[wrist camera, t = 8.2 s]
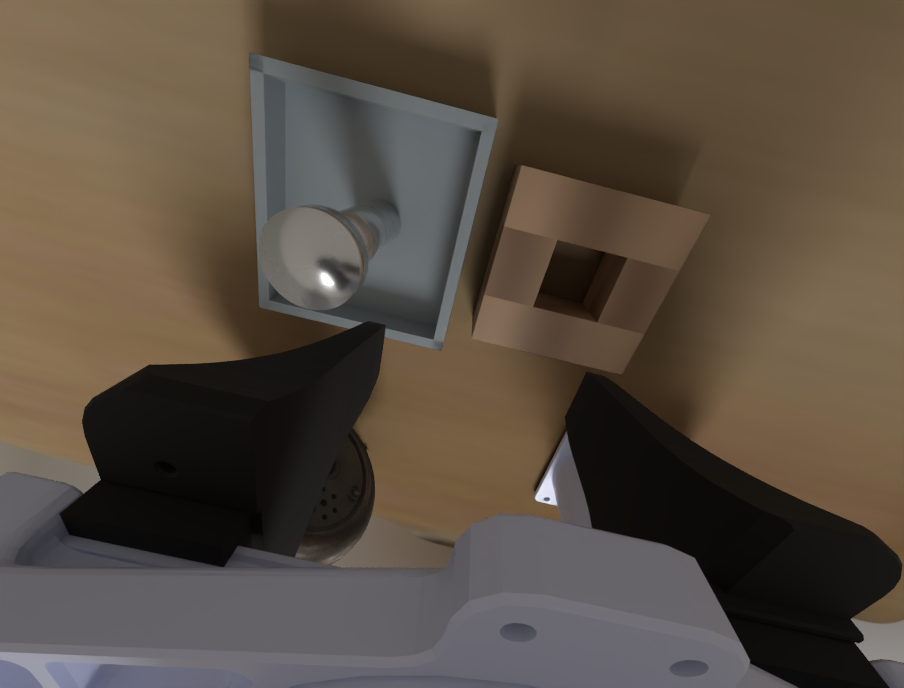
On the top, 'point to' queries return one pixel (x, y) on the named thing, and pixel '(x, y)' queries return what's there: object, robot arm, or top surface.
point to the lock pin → (324, 250)
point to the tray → (371, 186)
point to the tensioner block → (615, 282)
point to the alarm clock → (341, 506)
